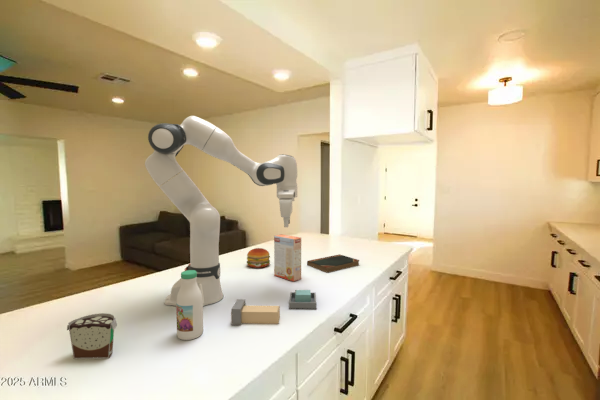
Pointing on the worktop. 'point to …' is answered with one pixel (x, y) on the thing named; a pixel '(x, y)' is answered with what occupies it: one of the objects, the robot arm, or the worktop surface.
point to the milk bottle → (189, 307)
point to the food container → (92, 336)
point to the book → (333, 263)
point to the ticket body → (254, 313)
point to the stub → (302, 296)
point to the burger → (258, 258)
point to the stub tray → (302, 304)
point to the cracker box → (287, 257)
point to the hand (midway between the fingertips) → (287, 225)
